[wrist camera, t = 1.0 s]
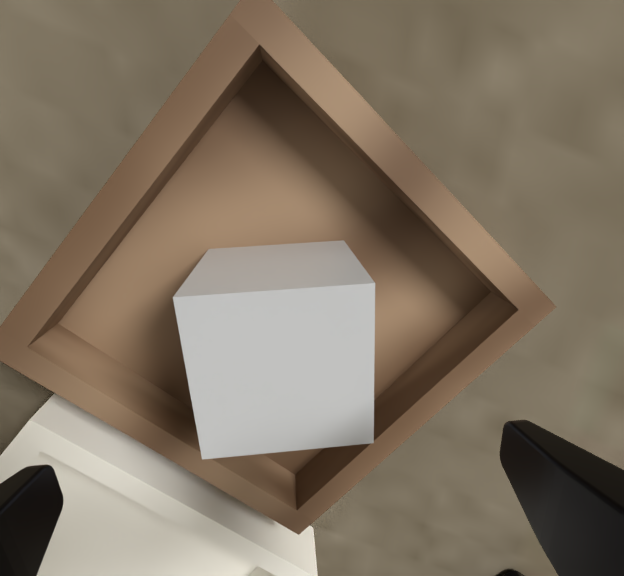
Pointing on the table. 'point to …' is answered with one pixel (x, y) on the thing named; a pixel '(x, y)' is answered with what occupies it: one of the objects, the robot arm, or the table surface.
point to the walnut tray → (257, 232)
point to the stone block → (279, 348)
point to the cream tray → (144, 508)
